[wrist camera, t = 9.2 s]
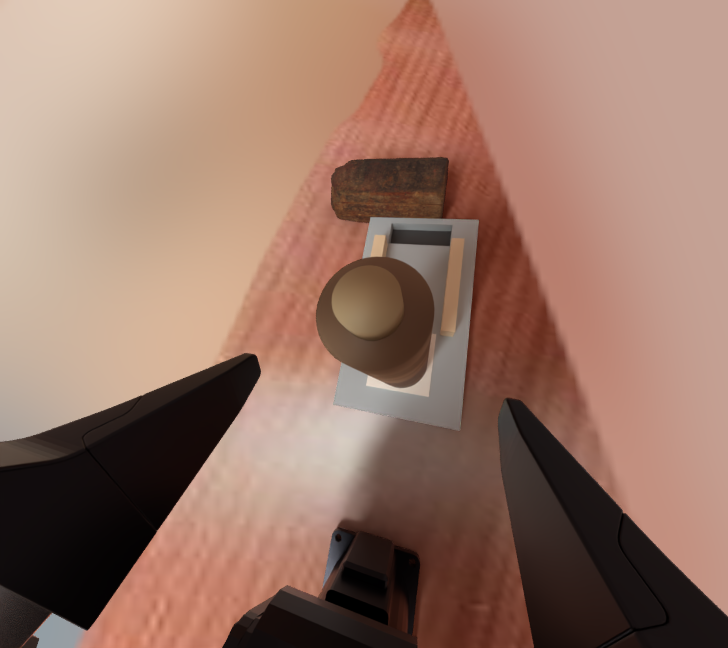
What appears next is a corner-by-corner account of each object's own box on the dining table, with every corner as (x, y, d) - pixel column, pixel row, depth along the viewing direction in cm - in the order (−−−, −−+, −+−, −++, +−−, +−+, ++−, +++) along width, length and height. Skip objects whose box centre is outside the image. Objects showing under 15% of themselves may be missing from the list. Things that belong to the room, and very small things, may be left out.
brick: (445, 194, 27) (450, 153, 22) (440, 228, 26) (444, 193, 21) (346, 192, 29) (333, 155, 25) (338, 223, 28) (323, 191, 24)
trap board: (457, 429, 21) (463, 433, 18) (337, 404, 23) (326, 405, 20) (476, 227, 25) (482, 207, 22) (372, 224, 27) (367, 206, 25)
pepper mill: (423, 392, 20) (427, 377, 7) (371, 383, 22) (288, 354, 8) (430, 339, 21) (443, 240, 8) (379, 333, 23) (318, 235, 9)
